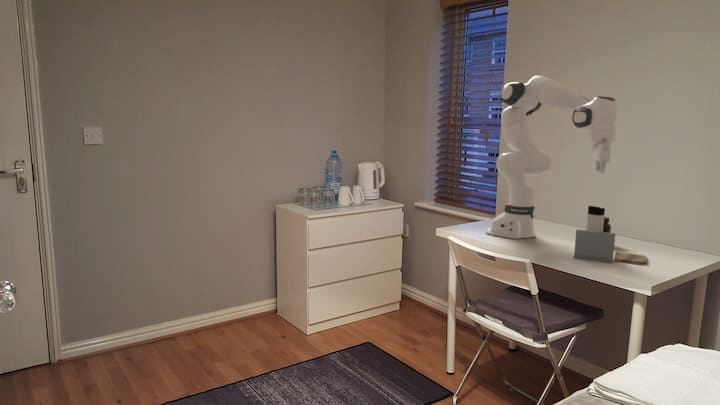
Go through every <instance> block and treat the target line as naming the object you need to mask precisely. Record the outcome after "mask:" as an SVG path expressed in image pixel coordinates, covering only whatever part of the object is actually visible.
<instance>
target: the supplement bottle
mask: <svg viewBox="0 0 720 405" xmlns="http://www.w3.org/2000/svg"><path fill="white" fill-rule="evenodd" d="M611 230H612V226H611V224H610V217H608V216H604V226H603V232H607V233H612V232H611Z"/></svg>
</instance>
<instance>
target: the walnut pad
mask: <svg viewBox="0 0 720 405" xmlns="http://www.w3.org/2000/svg"><path fill="white" fill-rule="evenodd" d="M613 262H617V263H627V264H634V265H640V266H641V265H642V266H647V255H643V254H635V253H627V252H626V253H625V252H617V251H616V252H615V255H614V258H613Z"/></svg>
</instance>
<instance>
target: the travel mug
mask: <svg viewBox="0 0 720 405" xmlns="http://www.w3.org/2000/svg"><path fill="white" fill-rule="evenodd" d="M605 211H606V208H604V207H599V206H594V205H588V208H587V216H586V217H587V218H586V228H585V230H588V231H597V232H603V226H604V217H605V216H606V215H605V213H606V212H605Z"/></svg>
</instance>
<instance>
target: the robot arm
mask: <svg viewBox="0 0 720 405" xmlns="http://www.w3.org/2000/svg"><path fill="white" fill-rule="evenodd" d="M500 100H501V101H502V102H503V103H504V104H505V105H507V106H508V107H506V108H505V109H504V110H503V111H502V112H501V116H500V118H501V120H500V121H501V129H502V132H503V137H504V141H505V144H506V146H507V148H509V149H510V150H512V151H508V152H504V153H501V154H499V156H498V157H497V159H496V162H495V164H496V165H495V166H496V169H497V171H498V172H499V174H500V175H502V176H503V177H504V179H505V180H506V181H507V184H508V185H507V186H508V189H509V192H508V193H509V196H508V197H509V198H508V199H509V201H508V202H509V203H508V202H507V203H506V204H505V205H504V207H503V209H504V211H503V212H502V213H501V214H499V215H497V216H496V217H495V218H493V220H492V221H491V225H490V227H488V228H486V230H485V233H486V235H487V234H488V235H491V236H497V237H502V238H503V237H504V238H510V239H516V240H517V239H529V238H534V237H536V232H535V224H534V218H535V215H536V214H535V213H536V212H535V211H536V208H535V193H536V191H535V188H534V187H533V186H532V185H531V184H529V183H527V182H526V180H525V179H526V178H525V177H526V176H541V175H545V174H548V173H549V172H550V170H551V168H552V164H553V163H552V158H551V156H550V154H548V153H546V152H545V151H543V150H542V149H540V147H538V145H537V144H535V142H534V141H533V140H532V137H531V135H530V132H529V129H528V125H527V123H526V120H525V117H526V116H527V117H528V116H531V115H532V114H533V113H535V112H536V111H538V110H539V109H540V108H541V106H542V105H543V106H545V107H547V108H550V109H563V110H572V111H573V112H572V116H571V119H572V124H573V125H574V127H576V128H577V129H582V130H590V143H591V142H592V157H593V159H594V160H595V166H596V167H595V171H596V172H599V173H600V174H605V173H606V172H605V171H606V167H607V163H610V161H611V148H612V147H611V146H612V143H615V141H616V121H617V115H618V105H617V100H616V99H615V98H614V97H611V96H605V95H604V96H603V95H599V96H595V97H594V98H593V100H590V99H589V98H586V97H585V96H582V95H579V94H577V93H576V92H574V91H572V90H570V89H568V88H566V87H565V86H563V85H562V84H561V83H559V82H557V81H555V80H553V79H551V78H549V77H546V76H544V75H535V76H533V77H532V78H531V79H529V80H528V82H527V83H523V81H518V82H517V81H515V82H509V83H506V84H505V85H504V86H503V87H502V89H501V91H500Z"/></svg>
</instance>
